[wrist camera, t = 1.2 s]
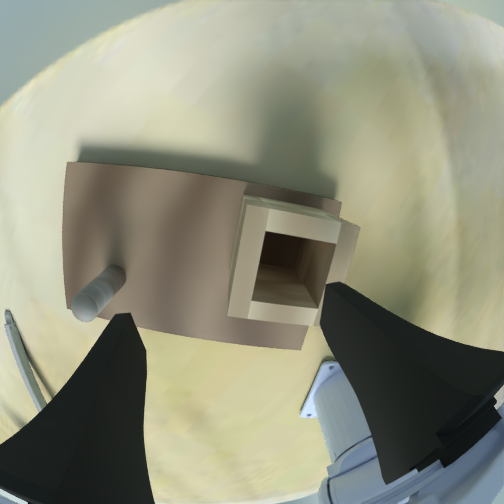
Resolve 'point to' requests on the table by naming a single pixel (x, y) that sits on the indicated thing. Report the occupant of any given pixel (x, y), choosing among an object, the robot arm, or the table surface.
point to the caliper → (23, 362)
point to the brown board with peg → (168, 250)
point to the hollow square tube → (282, 278)
